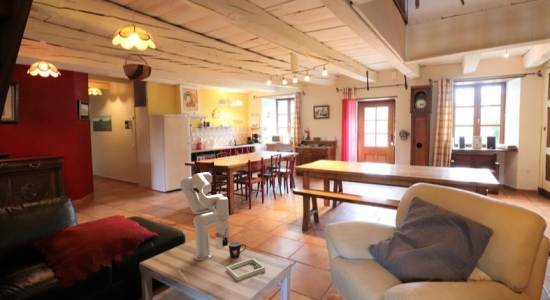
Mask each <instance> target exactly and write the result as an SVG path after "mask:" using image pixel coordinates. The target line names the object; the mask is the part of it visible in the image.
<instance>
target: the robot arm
mask: <svg viewBox="0 0 550 300" xmlns="http://www.w3.org/2000/svg"><path fill="white" fill-rule="evenodd" d="M211 183H213V176H212V174H211V173H210V172H207V171H205V172H199V173H195V174H193V175H192V176H187V177H185V178H182V179H181V180H180V190H181V191H182V192H183V194H184V197H186V199H187V203H188V205H189V207H190V210H191V212H192V214H196V215H195V216H194V217H193V225H194V230H195V232H194V233H195V248H196V249H195V250H196V251H195V252H196V254H195V255H194V260H196V261H198V262H203V261H206V260H210V259H211V258H213V253H212V252H211V241H210V240H211V237H210V231H209V229H208V228H207V227H209V226H212V225H216V226H215V229H216V232H215V233H218V234H219V235H221V236H223V246H224V247H227V246H229V245H228V244H229V241H228V240H229V235H230V226H229V225H230V224H229V217H230V215H229V212H230V211H229V199H228V197H227V196H224V195H223V194H221V193H217V194H213V195H212V194H211V195H208V193H209V192H210V191H211V189H212V185H211ZM195 188H196V189H197V190H198V192H197V191H196V190H194V189H195Z"/></svg>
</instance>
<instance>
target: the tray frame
mask: <svg viewBox="0 0 550 300" xmlns="http://www.w3.org/2000/svg"><path fill="white" fill-rule="evenodd" d="M250 264H253V265H254V266H256V265H257V266H259V267H260V268H258V269H256V270H254V269H253V270H250V271H248V272H245V273H242V274H239V275H238V274H236V272H235V271H233V270H234V269H236V268H240V267H242V266H245V265H250ZM225 270H226V272H228V273H229V275H230V276H232V277H233V279H234V280H236V281H237V282H239V281H241V280H243V279H246V278H249V277H251V276H254V275H257V274H262V273H265V272H266V267H265V266H264V265H263V264H262V263H261V262H259V261H258V260H256V259H255V258H254V257H251V258H249V259H245V260H243V261H240V262H237V263H234V264H230V265H228V266H226V269H225Z"/></svg>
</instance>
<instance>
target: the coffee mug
mask: <svg viewBox="0 0 550 300" xmlns="http://www.w3.org/2000/svg"><path fill="white" fill-rule="evenodd" d="M227 246H228V250H229V257H230V258H231V259H238V258H240V254H241V253H242V252H244V251H245V250H246V249H247V246H246V244H244V243H241V241H239V240H237V241H236V240H234V241H230V242H228V245H227ZM243 246H245V247H244V248H243V250H241V248H242V247H243Z"/></svg>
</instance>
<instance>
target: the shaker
mask: <svg viewBox="0 0 550 300" xmlns="http://www.w3.org/2000/svg"><path fill="white" fill-rule="evenodd" d="M214 236H215V249H216V250H224V249H225V246H223V236H221V235H219V234H218V233H217V232H215V234H214Z"/></svg>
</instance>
